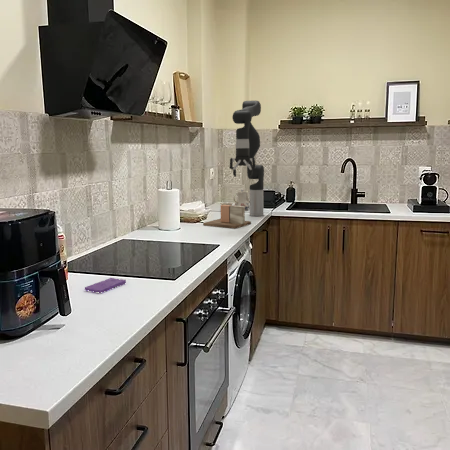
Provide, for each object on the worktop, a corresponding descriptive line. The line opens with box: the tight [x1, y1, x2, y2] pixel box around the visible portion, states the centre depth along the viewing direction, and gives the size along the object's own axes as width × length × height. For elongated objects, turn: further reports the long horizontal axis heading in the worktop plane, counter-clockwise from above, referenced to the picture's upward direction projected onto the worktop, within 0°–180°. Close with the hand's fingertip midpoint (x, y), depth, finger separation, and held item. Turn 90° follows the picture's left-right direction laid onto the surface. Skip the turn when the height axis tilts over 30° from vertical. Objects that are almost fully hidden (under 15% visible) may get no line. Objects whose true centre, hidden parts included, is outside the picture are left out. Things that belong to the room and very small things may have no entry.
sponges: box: [84, 277, 127, 294], centre depth 157 cm, size 7×13×2 cm, turn 151°
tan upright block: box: [220, 204, 233, 223], centre depth 273 cm, size 4×6×10 cm, turn 57°
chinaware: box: [220, 187, 250, 212], centre depth 333 cm, size 28×17×17 cm, turn 136°
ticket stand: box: [203, 204, 252, 230], centre depth 273 cm, size 18×22×12 cm
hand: (242, 176), depth 260 cm, fingers open, 8 cm apart
